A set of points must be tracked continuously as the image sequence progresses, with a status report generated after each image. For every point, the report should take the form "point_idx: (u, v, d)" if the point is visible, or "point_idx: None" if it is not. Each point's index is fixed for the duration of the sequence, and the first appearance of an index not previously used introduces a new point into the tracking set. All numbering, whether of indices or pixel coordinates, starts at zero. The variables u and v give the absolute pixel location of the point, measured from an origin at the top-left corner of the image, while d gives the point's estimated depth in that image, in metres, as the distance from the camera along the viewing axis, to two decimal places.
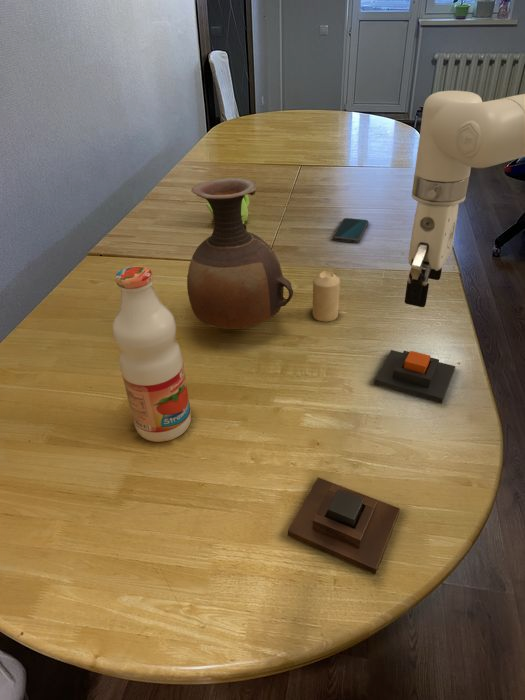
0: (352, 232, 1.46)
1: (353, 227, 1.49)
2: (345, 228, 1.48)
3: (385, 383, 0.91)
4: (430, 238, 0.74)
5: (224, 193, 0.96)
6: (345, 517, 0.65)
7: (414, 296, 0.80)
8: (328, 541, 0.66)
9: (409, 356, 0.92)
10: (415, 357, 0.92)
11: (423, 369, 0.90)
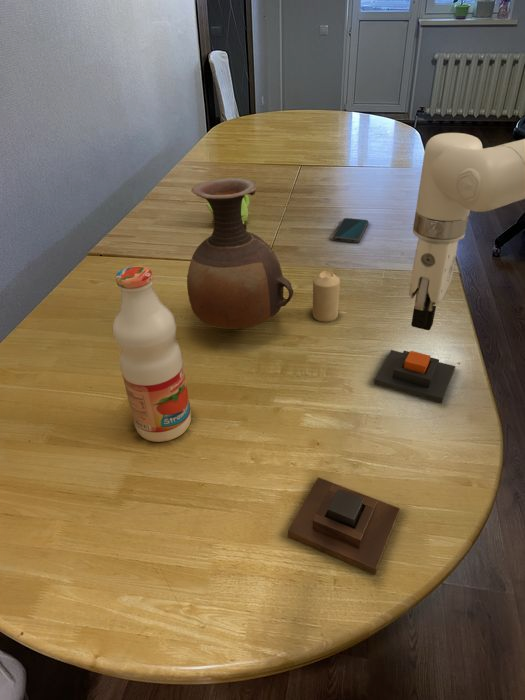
0: (352, 232, 1.46)
1: (353, 227, 1.49)
2: (345, 228, 1.48)
3: (385, 383, 0.91)
4: (431, 273, 0.76)
5: (224, 193, 0.96)
6: (345, 517, 0.65)
7: (420, 320, 0.86)
8: (328, 541, 0.66)
9: (409, 356, 0.92)
10: (415, 357, 0.92)
11: (423, 369, 0.90)
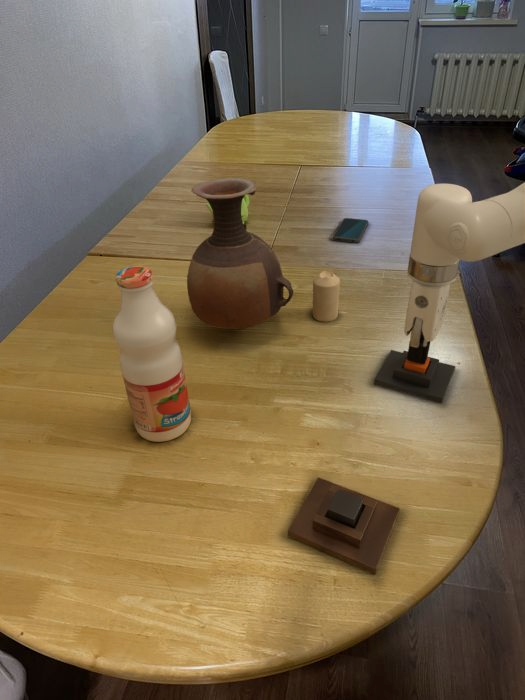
0: (352, 232, 1.46)
1: (353, 227, 1.49)
2: (345, 228, 1.48)
3: (385, 383, 0.91)
4: (424, 314, 0.81)
5: (224, 193, 0.96)
6: (345, 517, 0.65)
7: (415, 355, 0.90)
8: (328, 541, 0.66)
9: None
10: None
11: (423, 371, 0.90)
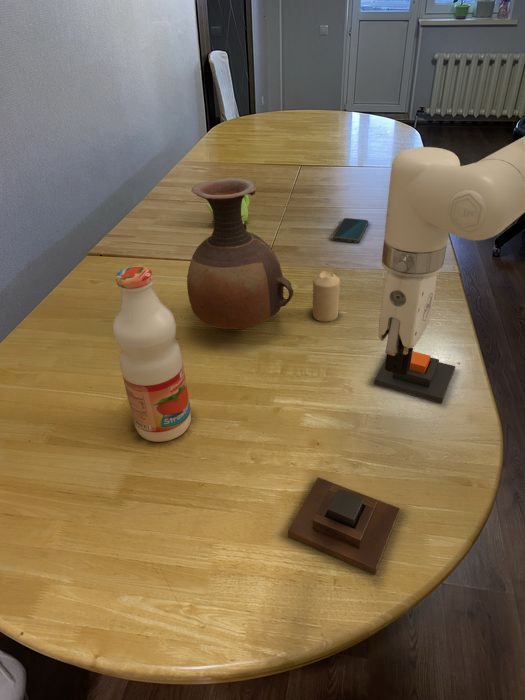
0: (352, 232, 1.46)
1: (353, 227, 1.49)
2: (345, 228, 1.48)
3: (385, 383, 0.91)
4: (401, 313, 0.64)
5: (224, 193, 0.96)
6: (345, 517, 0.65)
7: (395, 364, 0.73)
8: (328, 541, 0.66)
9: None
10: (415, 357, 0.92)
11: (423, 369, 0.90)
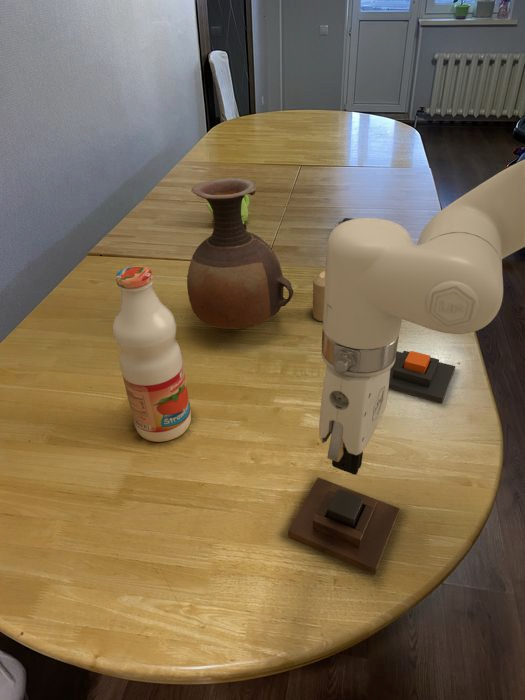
0: None
1: None
2: None
3: None
4: (344, 418, 0.52)
5: (224, 193, 0.96)
6: (345, 517, 0.65)
7: (342, 463, 0.61)
8: (328, 541, 0.66)
9: (409, 356, 0.92)
10: (415, 357, 0.92)
11: (423, 369, 0.90)
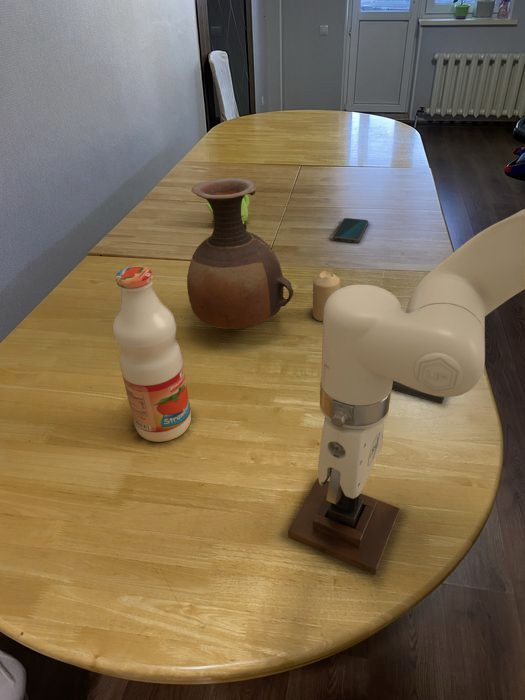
0: (352, 232, 1.46)
1: (353, 227, 1.49)
2: (345, 228, 1.48)
3: None
4: (341, 466, 0.56)
5: (224, 193, 0.96)
6: (345, 517, 0.65)
7: (341, 501, 0.65)
8: (328, 541, 0.66)
9: None
10: None
11: None
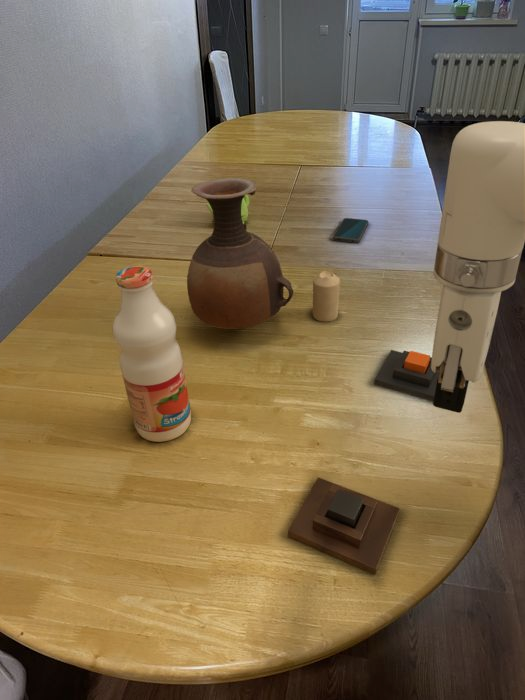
0: (352, 232, 1.46)
1: (353, 227, 1.49)
2: (345, 228, 1.48)
3: (385, 383, 0.91)
4: (465, 339, 0.49)
5: (224, 193, 0.96)
6: (345, 517, 0.65)
7: (447, 399, 0.58)
8: (328, 541, 0.66)
9: (409, 356, 0.92)
10: (415, 357, 0.92)
11: (423, 369, 0.90)
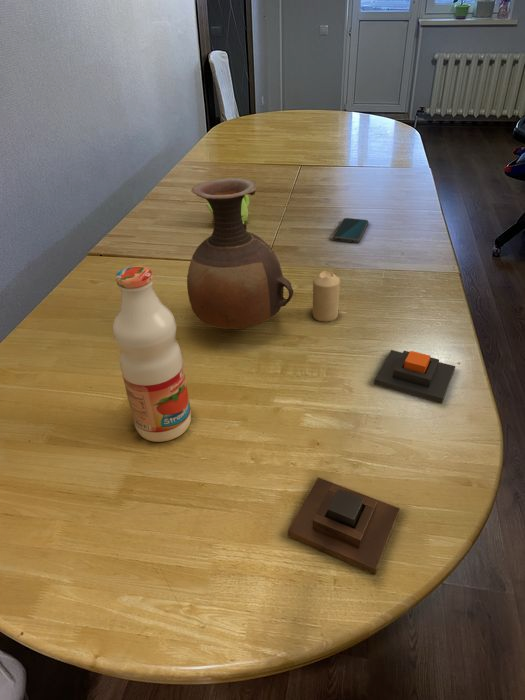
0: (352, 232, 1.46)
1: (353, 227, 1.49)
2: (345, 228, 1.48)
3: (385, 383, 0.91)
4: None
5: (224, 193, 0.96)
6: (345, 517, 0.65)
7: None
8: (328, 541, 0.66)
9: (409, 356, 0.92)
10: (415, 357, 0.92)
11: (423, 369, 0.90)
